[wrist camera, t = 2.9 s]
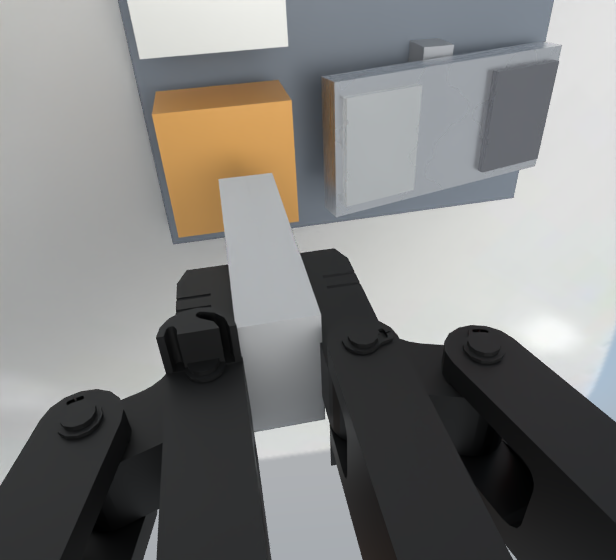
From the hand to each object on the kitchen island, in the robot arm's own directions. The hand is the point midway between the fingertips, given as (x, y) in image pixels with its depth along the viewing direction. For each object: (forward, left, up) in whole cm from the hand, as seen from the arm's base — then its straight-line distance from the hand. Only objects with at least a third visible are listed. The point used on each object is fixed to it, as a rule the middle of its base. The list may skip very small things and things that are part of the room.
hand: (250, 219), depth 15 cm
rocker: (+8, 0, -5) cm, 10 cm away
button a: (0, 0, -6) cm, 6 cm away
